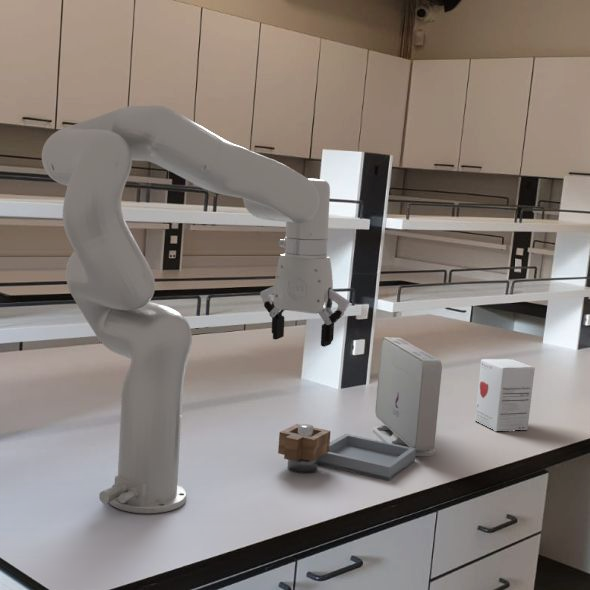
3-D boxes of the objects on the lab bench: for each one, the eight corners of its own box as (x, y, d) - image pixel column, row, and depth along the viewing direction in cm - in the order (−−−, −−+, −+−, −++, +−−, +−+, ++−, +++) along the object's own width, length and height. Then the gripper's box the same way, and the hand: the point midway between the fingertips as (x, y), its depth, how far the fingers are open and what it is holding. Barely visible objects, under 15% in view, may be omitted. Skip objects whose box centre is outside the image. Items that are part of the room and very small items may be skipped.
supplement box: (473, 421, 202) (479, 358, 200) (505, 420, 205) (511, 358, 203) (495, 432, 194) (502, 367, 192) (528, 431, 197) (536, 366, 195)
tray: (388, 480, 157) (390, 467, 156) (314, 463, 163) (315, 450, 163) (414, 461, 169) (415, 448, 169) (344, 445, 176) (345, 433, 176)
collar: (307, 464, 153) (309, 442, 153) (272, 456, 156) (274, 434, 156) (328, 451, 161) (330, 430, 161) (295, 444, 164) (297, 423, 164)
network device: (364, 423, 193) (372, 335, 191) (401, 424, 195) (409, 336, 193) (404, 461, 168) (413, 361, 166) (446, 461, 171) (455, 362, 168)
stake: (309, 475, 156) (312, 432, 155) (282, 468, 159) (285, 426, 158) (322, 467, 161) (326, 425, 160) (296, 461, 164) (299, 420, 163)
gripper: (253, 245, 155) (250, 339, 158) (342, 254, 148) (337, 351, 151) (272, 242, 162) (269, 332, 165) (358, 250, 155) (353, 344, 157)
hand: (301, 341), depth 158 cm, fingers open, 9 cm apart
